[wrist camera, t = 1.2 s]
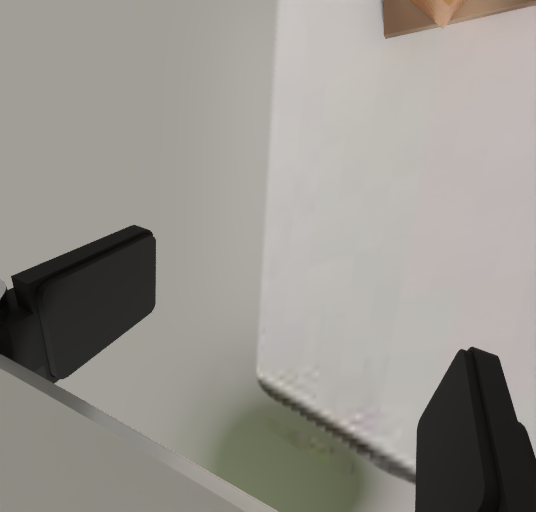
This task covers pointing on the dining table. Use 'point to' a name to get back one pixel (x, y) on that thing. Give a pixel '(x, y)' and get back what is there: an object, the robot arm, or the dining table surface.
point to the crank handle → (439, 9)
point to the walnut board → (413, 20)
